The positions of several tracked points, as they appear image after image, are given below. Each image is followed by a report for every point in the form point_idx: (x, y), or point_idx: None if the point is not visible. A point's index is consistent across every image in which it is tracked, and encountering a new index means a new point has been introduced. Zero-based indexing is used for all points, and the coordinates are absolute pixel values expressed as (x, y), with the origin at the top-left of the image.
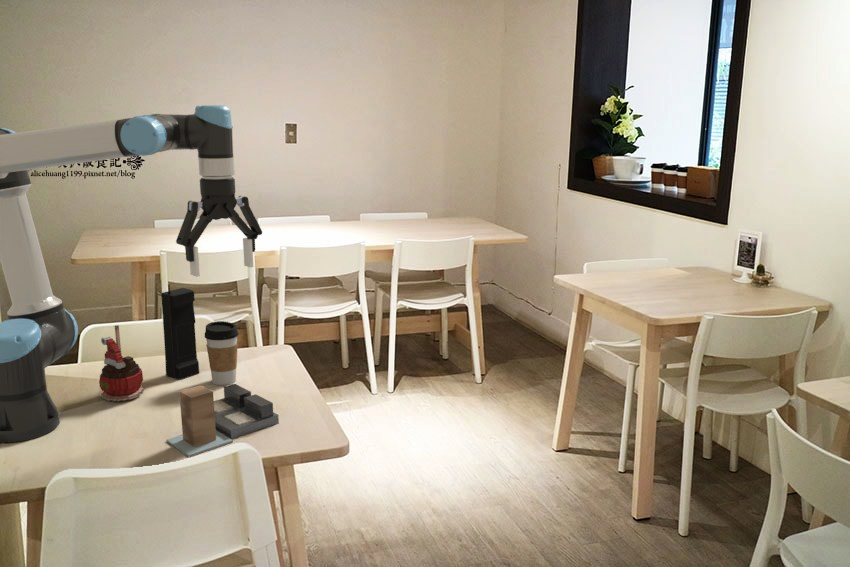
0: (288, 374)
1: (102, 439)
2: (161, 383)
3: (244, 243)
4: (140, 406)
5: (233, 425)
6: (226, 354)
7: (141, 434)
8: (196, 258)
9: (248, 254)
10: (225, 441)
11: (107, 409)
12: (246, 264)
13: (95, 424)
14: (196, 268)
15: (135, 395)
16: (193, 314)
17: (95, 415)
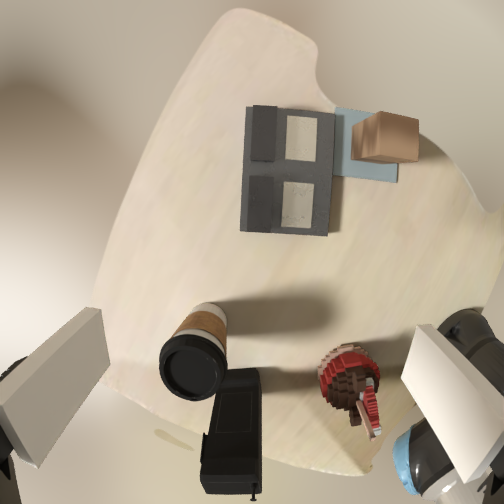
0: (117, 269)
1: (436, 253)
2: (282, 373)
3: (46, 434)
4: (351, 319)
5: (322, 125)
6: (205, 324)
7: (403, 230)
8: (477, 375)
9: (67, 358)
10: (345, 112)
11: (382, 338)
12: (102, 350)
13: (417, 302)
14: (450, 343)
15: (343, 347)
16: (207, 442)
17: (401, 329)
